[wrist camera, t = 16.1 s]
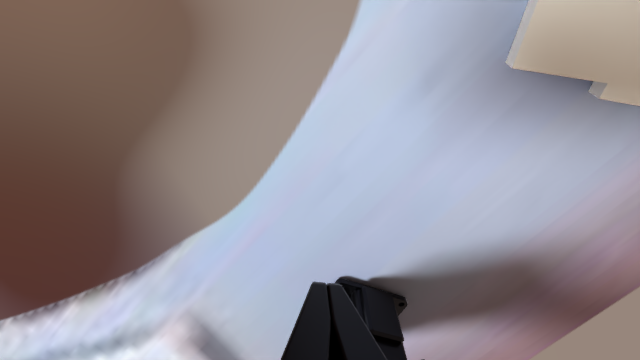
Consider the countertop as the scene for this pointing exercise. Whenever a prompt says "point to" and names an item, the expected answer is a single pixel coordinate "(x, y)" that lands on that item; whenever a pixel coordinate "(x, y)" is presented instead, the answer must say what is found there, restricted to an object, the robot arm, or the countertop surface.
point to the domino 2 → (619, 91)
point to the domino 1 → (579, 39)
